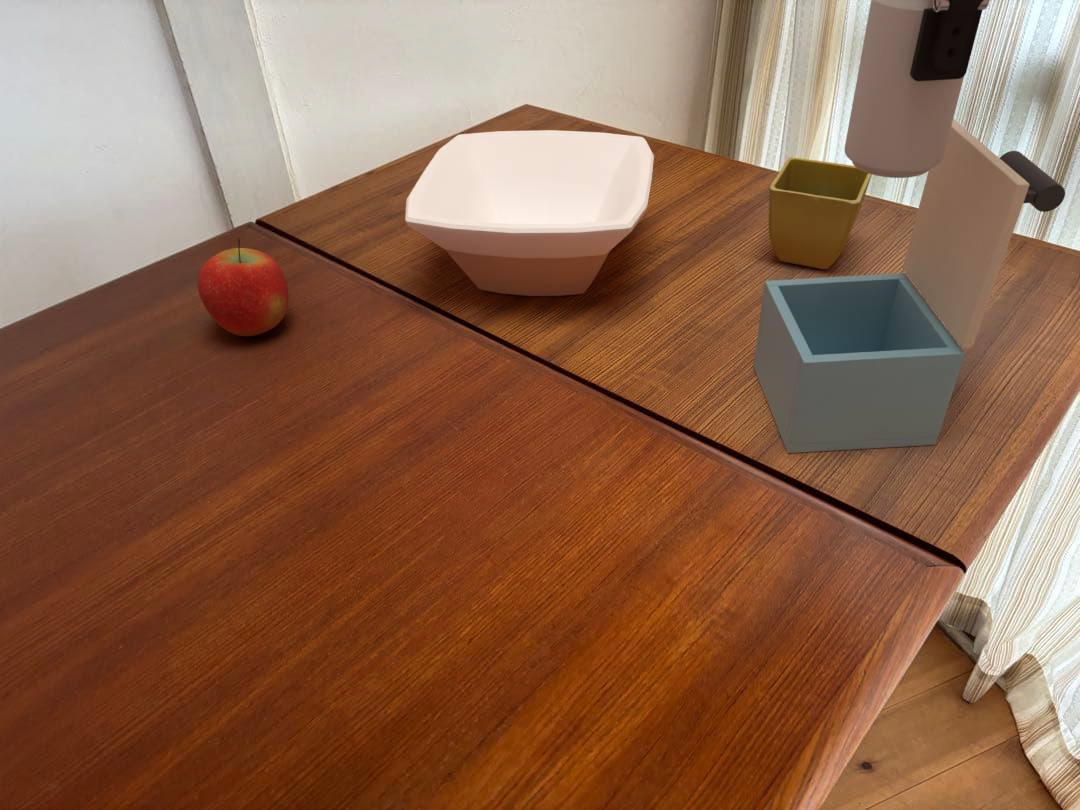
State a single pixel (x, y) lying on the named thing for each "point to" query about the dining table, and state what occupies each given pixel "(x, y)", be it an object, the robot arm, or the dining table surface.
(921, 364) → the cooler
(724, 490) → the dining table surface
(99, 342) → the dining table surface
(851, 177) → the flower pot
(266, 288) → the apple
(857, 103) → the beverage can
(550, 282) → the bowl
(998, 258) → the lid
